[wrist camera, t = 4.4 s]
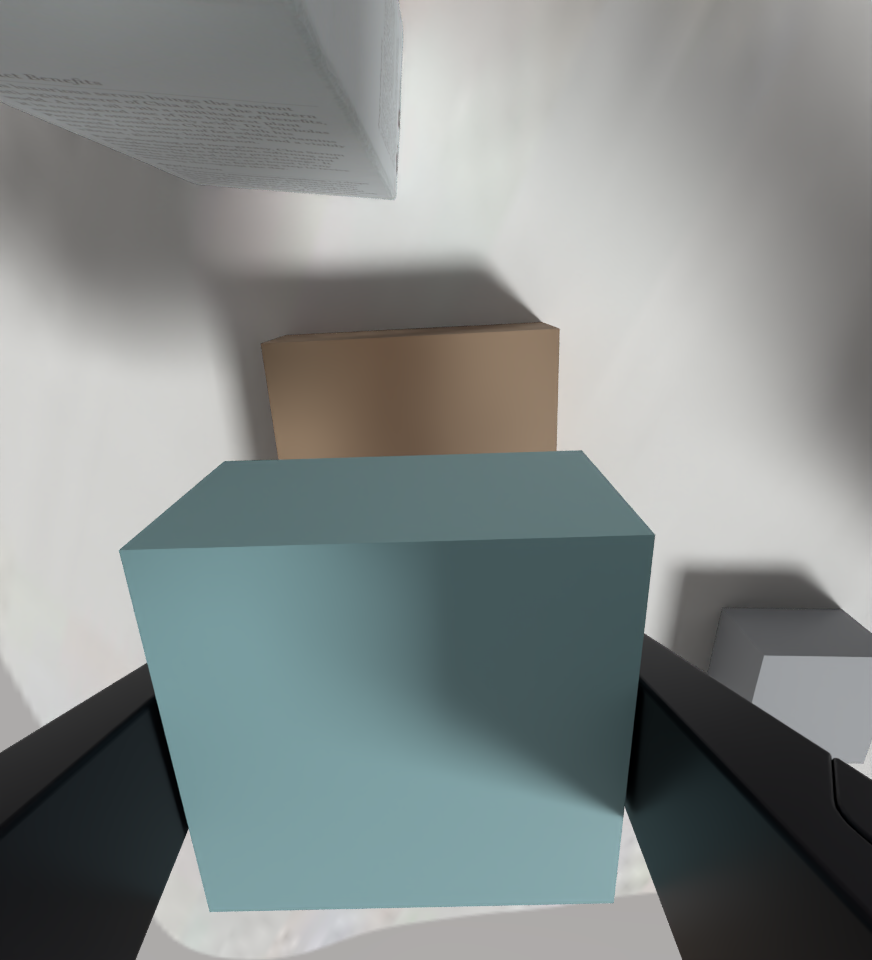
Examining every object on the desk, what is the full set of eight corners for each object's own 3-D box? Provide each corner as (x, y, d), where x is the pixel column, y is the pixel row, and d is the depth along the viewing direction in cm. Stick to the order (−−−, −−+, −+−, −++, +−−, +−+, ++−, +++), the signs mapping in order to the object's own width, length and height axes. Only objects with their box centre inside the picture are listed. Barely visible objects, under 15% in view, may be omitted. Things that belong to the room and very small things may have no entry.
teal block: (582, 449, 8) (654, 534, 6) (564, 733, 10) (613, 903, 7) (224, 461, 8) (118, 550, 6) (271, 739, 10) (209, 911, 8)
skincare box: (406, 24, 15) (299, -863, 3) (398, 203, 16) (307, 12, 5) (174, 4, 14) (-769, -995, 3) (186, 186, 16) (-429, -51, 5)
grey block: (838, 606, 21) (901, 657, 18) (809, 702, 22) (863, 763, 20) (719, 604, 21) (764, 655, 18) (698, 700, 22) (736, 761, 19)
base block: (539, 321, 17) (559, 328, 15) (536, 548, 20) (552, 591, 17) (289, 333, 18) (260, 343, 15) (319, 557, 20) (299, 601, 17)
